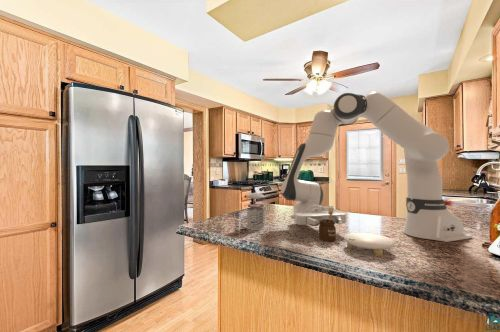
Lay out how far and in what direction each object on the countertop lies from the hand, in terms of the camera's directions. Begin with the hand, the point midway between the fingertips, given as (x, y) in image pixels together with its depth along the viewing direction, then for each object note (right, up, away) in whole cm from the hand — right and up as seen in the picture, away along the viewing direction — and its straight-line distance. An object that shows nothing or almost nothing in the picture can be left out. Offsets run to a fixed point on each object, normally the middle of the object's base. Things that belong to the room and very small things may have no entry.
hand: (328, 222), depth 88 cm
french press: (-25, -7, +19) cm, 32 cm away
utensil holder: (0, -7, +1) cm, 7 cm away
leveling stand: (+9, -6, -10) cm, 15 cm away
